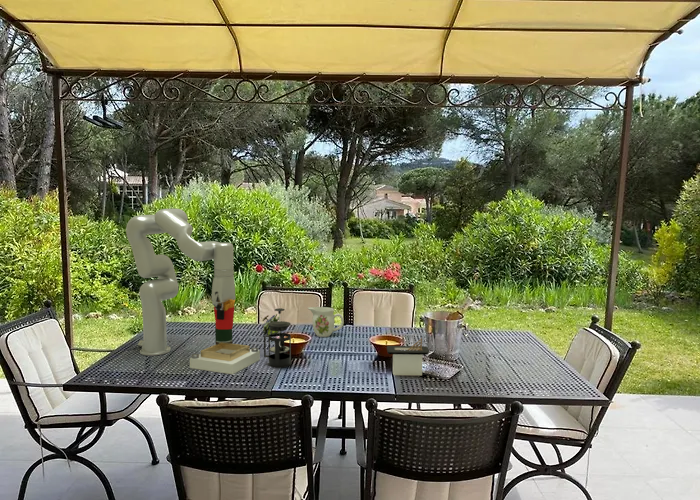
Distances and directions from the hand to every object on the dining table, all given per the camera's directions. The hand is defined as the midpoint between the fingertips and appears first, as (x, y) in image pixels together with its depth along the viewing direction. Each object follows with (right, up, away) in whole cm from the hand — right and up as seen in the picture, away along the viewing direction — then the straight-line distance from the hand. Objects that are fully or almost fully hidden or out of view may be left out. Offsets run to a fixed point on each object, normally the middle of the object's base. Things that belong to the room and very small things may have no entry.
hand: (224, 317), depth 212 cm
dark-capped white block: (+73, -21, -8) cm, 77 cm away
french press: (+22, -19, +2) cm, 29 cm away
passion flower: (+12, -15, +51) cm, 55 cm away
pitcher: (+39, -15, +48) cm, 63 cm away
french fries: (0, -5, +1) cm, 5 cm away
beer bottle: (-5, -17, +21) cm, 28 cm away
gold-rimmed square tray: (0, -19, +2) cm, 19 cm away
